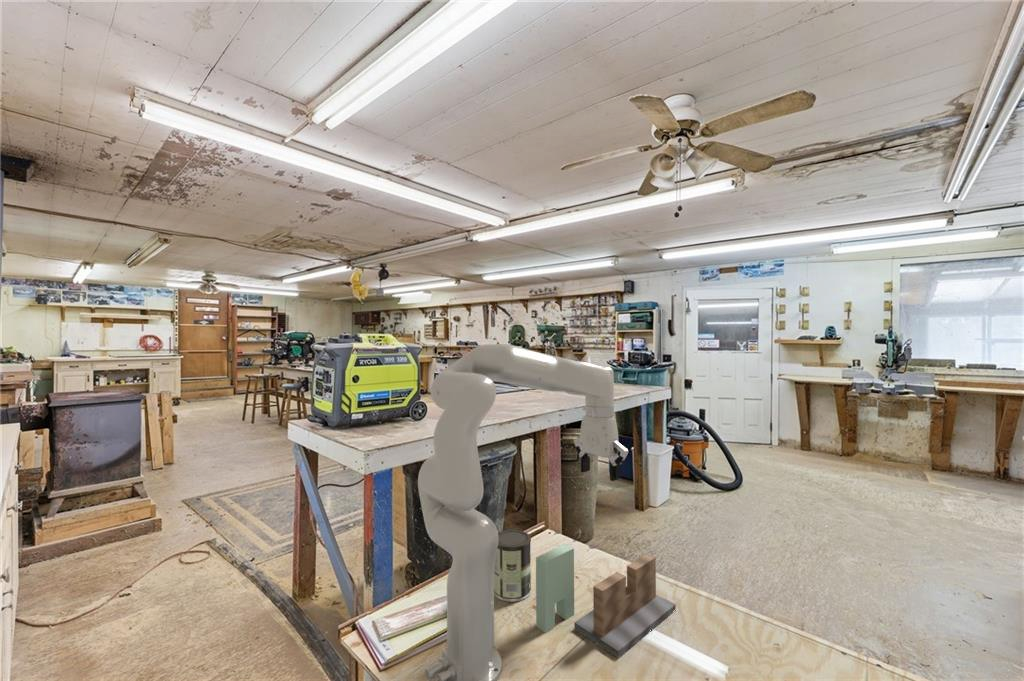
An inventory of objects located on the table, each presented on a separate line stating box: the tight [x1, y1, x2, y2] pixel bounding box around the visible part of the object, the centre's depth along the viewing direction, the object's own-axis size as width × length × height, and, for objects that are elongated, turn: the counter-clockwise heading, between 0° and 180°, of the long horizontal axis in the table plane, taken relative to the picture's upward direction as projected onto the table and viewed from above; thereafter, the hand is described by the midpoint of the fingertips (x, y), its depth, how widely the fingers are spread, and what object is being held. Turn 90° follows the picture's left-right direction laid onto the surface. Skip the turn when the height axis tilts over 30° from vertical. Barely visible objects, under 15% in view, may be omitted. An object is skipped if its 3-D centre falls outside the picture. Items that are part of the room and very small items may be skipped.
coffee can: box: [494, 529, 532, 603], centre depth 111 cm, size 10×10×14 cm
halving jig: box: [574, 553, 677, 659], centre depth 100 cm, size 24×12×12 cm, turn 131°
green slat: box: [535, 543, 575, 633], centre depth 99 cm, size 3×10×16 cm, turn 131°
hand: (599, 475), depth 112 cm, fingers open, 9 cm apart
